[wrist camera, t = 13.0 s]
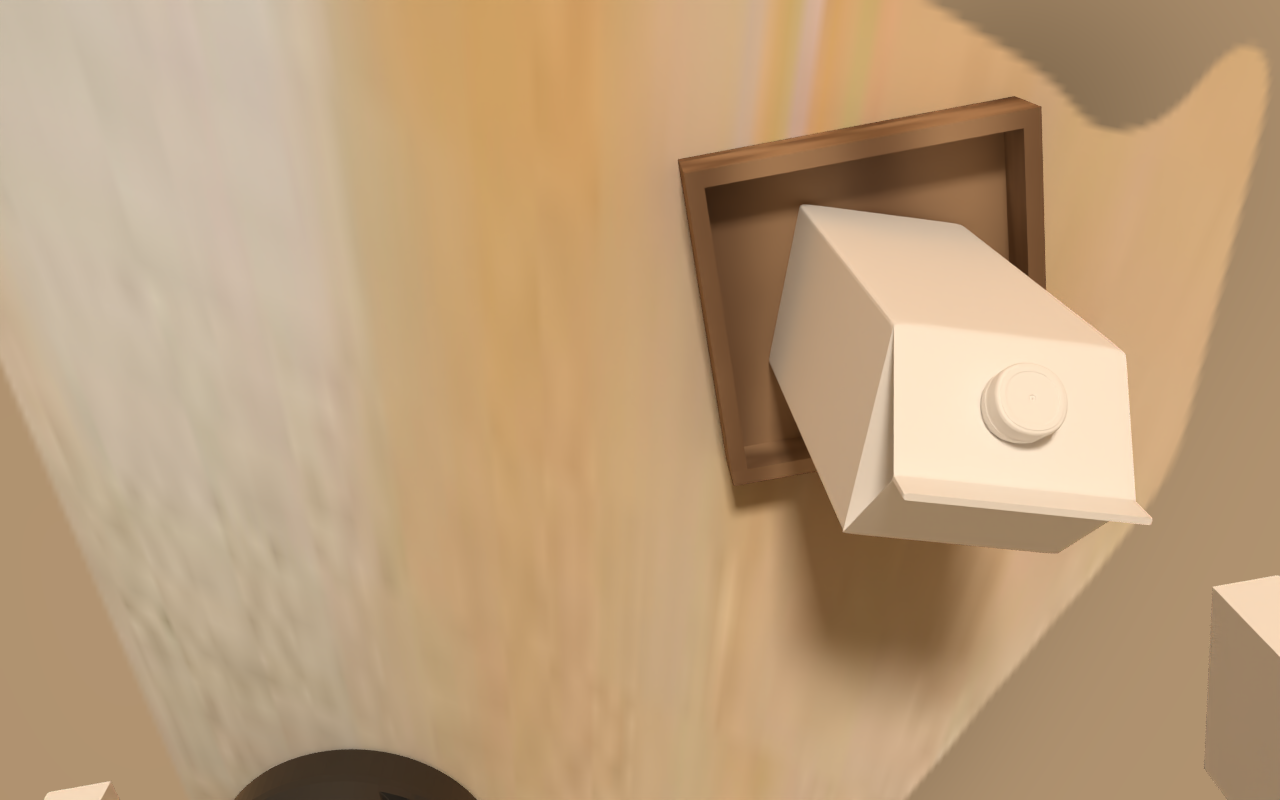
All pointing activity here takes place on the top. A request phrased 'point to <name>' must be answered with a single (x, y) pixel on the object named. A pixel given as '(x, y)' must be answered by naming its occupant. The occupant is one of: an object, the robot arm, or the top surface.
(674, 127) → the top surface
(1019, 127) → the tray
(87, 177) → the top surface
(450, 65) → the top surface
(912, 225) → the milk carton
